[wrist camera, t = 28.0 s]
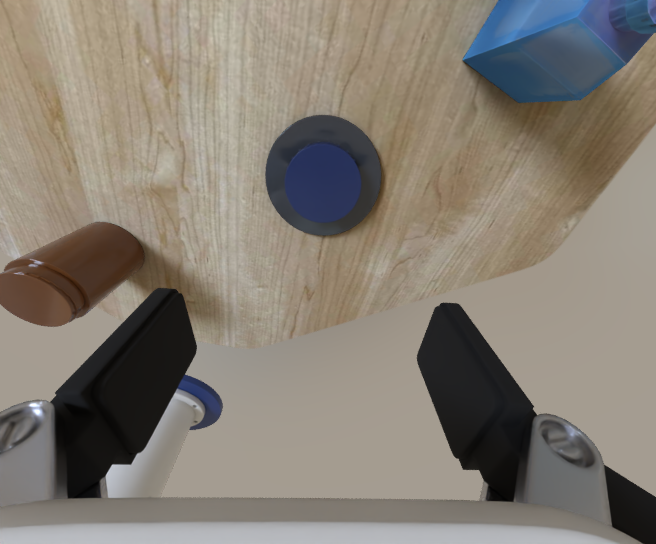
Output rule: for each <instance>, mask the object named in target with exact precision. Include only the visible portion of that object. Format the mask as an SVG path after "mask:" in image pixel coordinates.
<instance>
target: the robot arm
mask: <svg viewBox="0 0 656 544" xmlns="http://www.w3.org/2000/svg"><path fill="white" fill-rule="evenodd" d="M196 349H197V345H196V341H195V338H194V334H193V330H192V327H191V323H190V319H189V316H188V312H187V308H186V305H185V301H184V297H183V295H182V294H181V293H178V291H177V290H176V289H167V288H157V289H156V290H154V291H153V292H152V293H151V294H150V295H149V296H148V297H147V298H146V300H145V301H144V302H143V303H142V304H141V305H140V306H139V307H138V308H137V309H136V310H135V311H134V312H133V313H132V314H131V315H130V316H129V317H128V318H127V319H126V320H125V321H124V322H123V323H122V324H121V325H120V326H119V327H118V328H117V329H116V330H115V331H114V332H113V334H112V335H111V336H110V337H109V338H108V339H107V340H106V341H105V342H104V343H103V344H102V345H101V346H100V347H99V348H98V349H97V350H96V351H95V352H94V353H93V354H92V355H91V356H90V357H89V358H88V359H87V360H86V361H85V363H83V365H81V367H80V368H79V369H78V370H77V371H76V372H75V373H74V374H73V375H72V376H71V377H70V378H69V379H68V380H67V381H66V382H65V383H64V384H63V385H62V386H61V387H60V388H59V389H58V390H57V391H56V392H55V394H56V396H55V397H54V398H53V400H52V401H51V402H48V401H46V400H32V401H26V402H23V403H20V404H17V405H14V406H12V407H10V408H8V409H5V410H3V411H1V412H0V544H656V497H655V496H653V495H652V494H650V493H648V492H647V491H645V490H643V489H642V488H640V487H639V486H637V485H636V484H634V483H632V482H631V481H629V480H627V479H626V478H624V477H623V476H621V475H620V474H618V473H616V472H615V471H613V470H612V469H610V468H609V467H607V466H605V465H604V463H603V460H602V457H601V454H600V452H599V451H598V449H597V447H596V446H595V444H594V443H593V442H592V441H591V440H590V439H589V438H588V436H586V434H584V433H583V432H582V431H581V430H580V429H578V428H577V427H576V426H574V425H573V424H571V423H570V422H568V421H567V420H565V419H562V418H560V417H558V416H556V415H551V414H539V415H537V414H536V413H535V412H534V410H533V407H534V406H533V405H532V403H531V402H530V400H529V399H528V398H527V396H526V395H525V394H524V392H523V391H522V390H521V388H520V387H519V385H518V384H517V383H516V381H515V380H514V378H513V377H512V376H511V375H510V373H509V372H508V371H507V369H506V367H505V366H504V365H503V363H502V362H501V361H500V359H499V358H498V357H497V355H496V354H495V352H494V351H493V350H492V348H491V347H490V346H489V344H488V343H487V342H486V340H485V339H484V337H483V336H482V335H481V333H480V332H479V330H478V329H477V328H476V326H475V325H474V324H473V322H472V321H471V319H470V318H469V317H468V315H467V314H466V313H465V311H464V310H463V309H462V307H461V306H460V305H459V304H457V303H441V304H440V305H439V306H437V307H436V308H435V309H434V312H433V314H432V317H431V320H430V322H429V325H428V328H427V330H426V333H425V336H424V338H423V341H422V344H421V346H420V349H419V351H418V355H417V361H418V365H419V368H420V371H421V373H422V376H423V378H424V381H425V384H426V386H427V389H428V391H429V394H430V397H431V399H432V402H433V404H434V407H435V409H436V412H437V415H438V417H439V420H440V422H441V425H442V428H443V430H444V433H445V436H446V438H447V441H448V443H449V446H450V449H451V451H452V453H453V455H454V457H455V458H458V459H459V461H460V463H461V466H462V468H463V470H479V471H480V473H481V475H482V477H483V479H484V482H483V487H482V491H481V495H480V500H479V501H470V500H422V499H414V500H413V499H339V498H337V499H335V498H331V499H330V498H160V497H161V494H162V492H163V490H164V487H165V485H166V483H167V480H168V478H169V475H170V473H171V471H172V469H173V466H174V464H175V462H176V459H177V457H178V455H179V452H180V450H181V448H182V445H183V443H184V441H185V438H186V436H187V434H188V432H189V429H190V427H191V426H194V425H196V424H198V423H200V422H201V421H202V419H203V417H204V415H205V407H204V405H203V403H202V402H201V401H200V400H199V399H198V398H197V397H195V396H194V395H192V394H190V393H189V392H186V391H184V390H181V389H177V388H178V386H179V384H180V382H181V380H182V379H183V377H184V375H185V373H186V371H187V369H188V367H189V366H190V364H191V362H192V360H193V358H194V356H195V354H196Z"/></svg>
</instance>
